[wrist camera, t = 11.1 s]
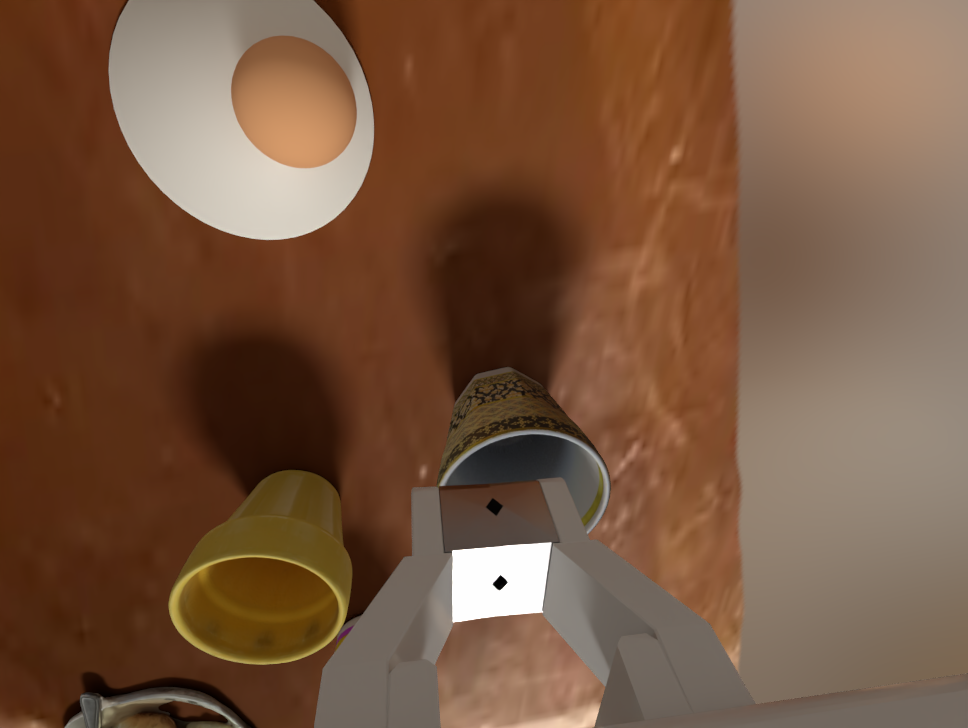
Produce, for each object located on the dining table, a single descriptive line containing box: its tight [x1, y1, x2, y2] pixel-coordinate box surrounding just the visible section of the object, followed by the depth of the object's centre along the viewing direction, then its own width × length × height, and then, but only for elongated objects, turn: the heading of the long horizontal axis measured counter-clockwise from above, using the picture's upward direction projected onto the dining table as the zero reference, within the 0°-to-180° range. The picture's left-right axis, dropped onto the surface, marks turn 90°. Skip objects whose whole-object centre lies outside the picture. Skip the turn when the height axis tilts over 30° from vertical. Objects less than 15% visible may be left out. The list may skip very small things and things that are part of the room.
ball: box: [231, 36, 357, 168], centre depth 23 cm, size 6×6×6 cm
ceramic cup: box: [437, 367, 611, 535], centre depth 32 cm, size 13×10×10 cm
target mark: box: [109, 0, 374, 240], centre depth 26 cm, size 13×13×1 cm
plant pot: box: [169, 470, 352, 664], centre depth 34 cm, size 10×10×10 cm
